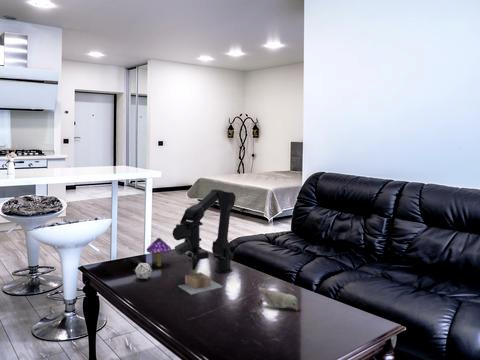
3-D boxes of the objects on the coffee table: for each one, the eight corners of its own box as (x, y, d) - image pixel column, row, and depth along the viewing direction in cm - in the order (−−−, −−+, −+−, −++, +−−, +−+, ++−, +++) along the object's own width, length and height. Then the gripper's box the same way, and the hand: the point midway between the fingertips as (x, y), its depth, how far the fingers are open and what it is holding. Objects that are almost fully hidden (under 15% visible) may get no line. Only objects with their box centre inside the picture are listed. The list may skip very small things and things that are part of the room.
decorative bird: (297, 313, 156) (297, 294, 155) (256, 308, 161) (256, 289, 160) (299, 308, 161) (299, 289, 160) (259, 303, 166) (259, 285, 165)
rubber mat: (209, 279, 192) (209, 278, 192) (223, 287, 182) (223, 286, 182) (178, 286, 183) (178, 285, 183) (191, 294, 173) (191, 294, 173)
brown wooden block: (200, 272, 191) (210, 277, 183) (200, 279, 191) (210, 285, 184) (184, 275, 186) (194, 281, 179) (185, 283, 186) (194, 289, 179)
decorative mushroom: (162, 261, 221) (162, 233, 219) (176, 266, 212) (175, 238, 210) (142, 266, 212) (141, 237, 211) (154, 271, 203) (154, 242, 202)
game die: (147, 285, 194) (159, 267, 196) (141, 285, 186) (154, 266, 188) (132, 274, 196) (145, 257, 198) (126, 274, 188) (139, 255, 190)
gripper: (167, 234, 189) (168, 267, 191) (186, 242, 174) (186, 278, 176) (189, 231, 196) (189, 263, 197) (209, 239, 180) (209, 274, 182)
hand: (193, 269), depth 188 cm, fingers closed
